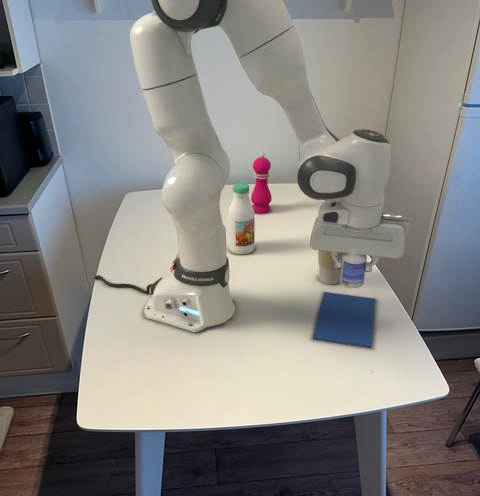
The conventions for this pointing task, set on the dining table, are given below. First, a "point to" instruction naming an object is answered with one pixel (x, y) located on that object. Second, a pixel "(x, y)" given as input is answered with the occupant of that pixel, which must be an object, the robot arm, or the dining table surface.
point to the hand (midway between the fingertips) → (352, 269)
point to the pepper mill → (261, 186)
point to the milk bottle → (241, 221)
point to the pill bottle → (353, 269)
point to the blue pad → (345, 320)
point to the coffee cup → (328, 267)
